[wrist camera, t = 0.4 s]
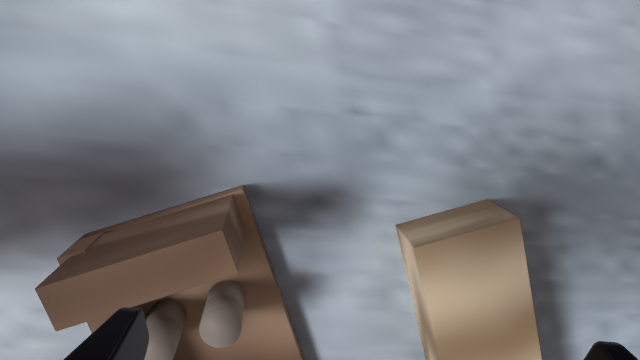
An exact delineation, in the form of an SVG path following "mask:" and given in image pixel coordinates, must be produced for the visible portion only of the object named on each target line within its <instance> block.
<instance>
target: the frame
mask: <svg viewBox="0 0 640 360" xmlns="http://www.w3.org/2000/svg"><path fill="white" fill-rule="evenodd" d="M57 260H58V262H59V264H60V266H59V267H58V268H57V269H56V270H55V271H54V272H53V273H52V274H51V275H49V276H48V277H47V278H46V279H45V280H44V281H43V282H42V283H41V284H40V285H39V286H38V287H36V288H35V290H36V292H37V294H38V296H39V298H40V300H41V302H42V304H43V306H44V308H45V310H46V312H47V314H48V316H49V318H50V321H51V323H52V325H53V327H54V329H55V331H59V330H62V329H65V328H68V327H71V326H75V325H78V324H81V323H84V322H87V324H88V326H89V328H90V330H91V332H92V333H93V332H94V331H95V330H96V329H98V328H99V327H100V326H101V325H102V324H103V323H104V322H105V321H106V320H107V319H108V318H109V317H111V316H112V315H113V314H114V313H115V312H116V311H117V310H118V309H120V308H123V307H128V308H140V309H141V310H142V311H143V312H144V316H145V320H146V323H147V327H148V331H149V344H148V348H147V352H146V356H145V359H144V360H304V359H303V356H302V353H301V350H300V347H299V344H298V341H297V339H296V336H295V333H294V330H293V327H292V324H291V321H290V318H289V315H288V313H287V310H286V307H285V304H284V301H283V298H282V295H281V292H280V290H279V287H278V284H277V281H276V278H275V275H274V272H273V269H272V267H271V264H270V261H269V258H268V255H267V252H266V249H265V246H264V243H263V241H262V238H261V235H260V232H259V229H258V226H257V223H256V220H255V218H254V215H253V212H252V209H251V206H250V203H249V200H248V197H247V195H246V192H245V189H244V186H243V185H242V186H239V187H236V188H233V189H229V190H226V191H223V192H220V193H216V194H213V195H210V196H207V197H204V198H200V199H197V200H194V201H191V202H188V203H184V204H181V205H178V206H175V207H172V208H168V209H165V210H162V211H159V212H155V213H152V214H149V215H146V216H143V217H139V218H136V219H133V220H130V221H127V222H123V223H120V224H117V225H114V226H111V227H107V228H104V229H101V230H98V231H94V232H91V233H88V234H85V235H83V236H82V237H81V238H80V239H79V240H78V241H76V242H75V243H74V244H73V245H72V246H71V247H70V248H68V249H67V250H66V251H65V252H64V253H63V254H62V255H60V256H59V257H58V258H57Z"/></svg>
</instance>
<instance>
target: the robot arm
mask: <svg viewBox="0 0 640 360" xmlns="http://www.w3.org/2000/svg"><path fill="white" fill-rule="evenodd" d="M148 344H149V331H148V327H147V323H146V320H145V316H144V312H143V311H142V310H141V309H140V308H128V307H123V308H120V309H118V310H117V311H116V312H115V313H114V314H113V315H112V316H111V317H109V318H108V319H107V320H106V321H105V322H104V323H103V324H102V325H101V326H100V327H99V328H98V329H96V330H95V331H94V332H93V333H92V334H91V335H90V336H89V337H88V338H87V339H86V340H84V341H83V342H82V343H81V344H80V345H79V346H78V347H77V348H76V349H75V350H74V351H73V352H71V353H70V354H69V355H68V356H67V357H66V358H65V359H64V360H144V359H145V356H146V352H147V348H148ZM584 360H638V359H637V358H636V357H635V356H634V355H633V354H631V353H630V352H629V351H628V350H627V349H626V348H625V347H624V346H622V345H621V344H619V343H615V342H603V341H598V342H596V343H595V344H594V345H593V346H592V348H591V349H590V351H589V352H588V354H587V355H586V357H585V358H584Z"/></svg>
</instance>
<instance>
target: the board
mask: <svg viewBox="0 0 640 360" xmlns="http://www.w3.org/2000/svg"><path fill="white" fill-rule="evenodd" d="M396 230H397V234H398V238H399V243H400V247H401V252H402V256H403V261H404V265H405V269H406V274H407V278H408V283H409V287H410V291H411V296H412V300H413V305H414V309H415V314H416V318H417V322H418V327H419V331H420V336H421V340H422V345H423V349H424V353H425V358H426V360H542V358H541V351H540V345H539V338H538V332H537V326H536V319H535V313H534V306H533V300H532V293H531V287H530V281H529V274H528V268H527V261H526V255H525V249H524V242H523V236H522V229H521V223H520V218H519V217H517V216H515V215H513V214H512V213H510V212H508V211H506V210H505V209H503V208H501V207H499V206H498V205H496V204H494V203H493V202H491V201H489V200H483V201H479V202H476V203H472V204H469V205H465V206H462V207H458V208H454V209H451V210H447V211H444V212H440V213H437V214H433V215H429V216H426V217H422V218H419V219H415V220H412V221H408V222H404V223H401V224H397V225H396Z"/></svg>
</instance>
